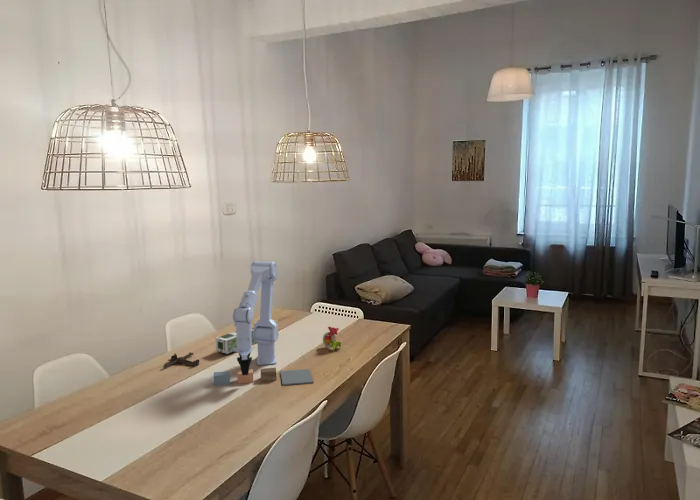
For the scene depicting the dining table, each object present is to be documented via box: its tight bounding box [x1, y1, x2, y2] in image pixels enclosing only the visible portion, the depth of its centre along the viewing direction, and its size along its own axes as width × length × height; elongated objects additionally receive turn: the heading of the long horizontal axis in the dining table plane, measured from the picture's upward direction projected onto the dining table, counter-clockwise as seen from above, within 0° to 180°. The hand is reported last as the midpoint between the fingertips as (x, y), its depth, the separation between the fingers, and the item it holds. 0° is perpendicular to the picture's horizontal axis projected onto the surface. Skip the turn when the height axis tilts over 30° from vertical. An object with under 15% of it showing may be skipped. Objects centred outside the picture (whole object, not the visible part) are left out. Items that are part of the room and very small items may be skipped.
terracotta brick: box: [236, 368, 254, 384], centre depth 205 cm, size 4×6×4 cm, turn 102°
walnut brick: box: [260, 367, 277, 382], centre depth 207 cm, size 4×6×4 cm, turn 102°
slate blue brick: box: [213, 370, 231, 386], centre depth 203 cm, size 4×6×4 cm, turn 101°
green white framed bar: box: [215, 319, 279, 354], centre depth 248 cm, size 35×8×7 cm, turn 148°
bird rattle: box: [322, 326, 342, 351], centre depth 241 cm, size 6×11×9 cm
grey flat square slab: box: [279, 368, 314, 386], centre depth 208 cm, size 13×12×1 cm
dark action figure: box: [162, 351, 200, 369], centre depth 223 cm, size 18×4×14 cm
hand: (245, 370), depth 205 cm, fingers open, 7 cm apart
